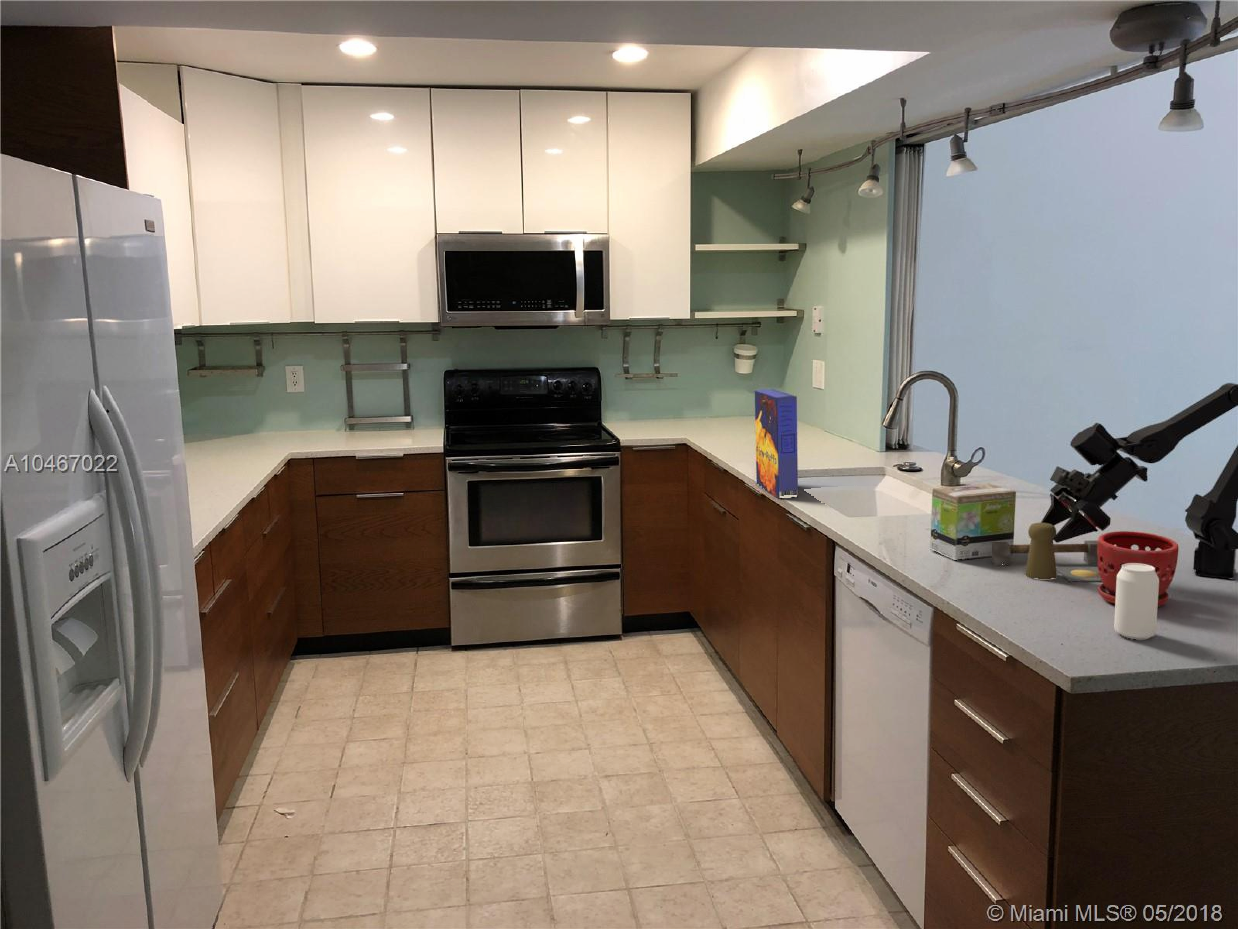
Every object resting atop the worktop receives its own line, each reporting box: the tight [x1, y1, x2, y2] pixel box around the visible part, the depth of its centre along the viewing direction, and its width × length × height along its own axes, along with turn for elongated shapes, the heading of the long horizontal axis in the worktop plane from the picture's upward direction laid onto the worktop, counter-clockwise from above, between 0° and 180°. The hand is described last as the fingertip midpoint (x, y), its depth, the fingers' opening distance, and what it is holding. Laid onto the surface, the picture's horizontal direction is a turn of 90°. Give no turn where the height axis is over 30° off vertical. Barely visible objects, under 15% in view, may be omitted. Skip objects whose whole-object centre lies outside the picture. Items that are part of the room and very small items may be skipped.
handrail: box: [991, 540, 1103, 566], centre depth 201 cm, size 22×3×4 cm, turn 83°
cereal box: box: [754, 388, 799, 500], centre depth 282 cm, size 22×6×30 cm, turn 8°
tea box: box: [929, 483, 1017, 560], centre depth 210 cm, size 15×10×15 cm, turn 105°
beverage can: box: [1113, 563, 1159, 641], centre depth 158 cm, size 6×6×12 cm
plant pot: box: [1097, 530, 1179, 608], centre depth 174 cm, size 13×13×12 cm
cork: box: [1024, 522, 1058, 579], centre depth 192 cm, size 6×6×11 cm
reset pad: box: [1056, 566, 1102, 583], centre depth 192 cm, size 9×9×1 cm
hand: (1047, 535), depth 191 cm, fingers open, 9 cm apart
